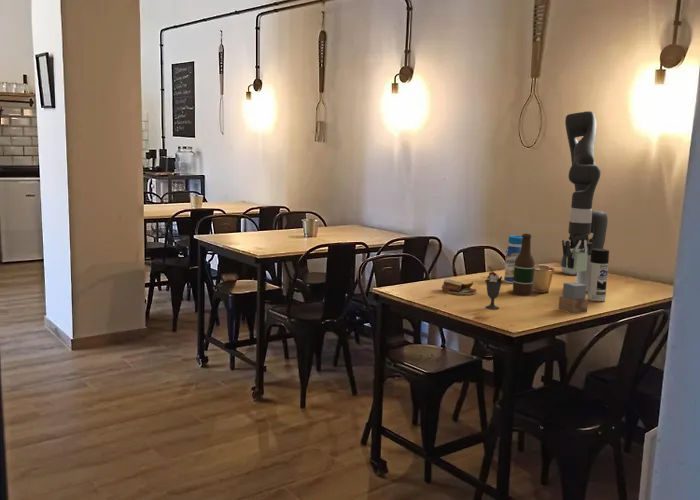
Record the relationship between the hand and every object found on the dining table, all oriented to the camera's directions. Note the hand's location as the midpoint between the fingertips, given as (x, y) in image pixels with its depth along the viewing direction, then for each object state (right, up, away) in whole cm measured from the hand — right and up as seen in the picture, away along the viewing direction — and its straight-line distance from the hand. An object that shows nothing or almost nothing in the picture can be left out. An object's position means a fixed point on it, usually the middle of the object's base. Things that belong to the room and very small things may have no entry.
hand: (576, 267), depth 244 cm
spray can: (+15, -13, +21) cm, 29 cm away
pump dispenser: (+22, -5, +73) cm, 76 cm away
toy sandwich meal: (-38, -11, +27) cm, 48 cm away
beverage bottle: (-11, -8, +50) cm, 52 cm away
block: (0, -1, 0) cm, 1 cm away
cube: (0, -11, +2) cm, 11 cm away
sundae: (-30, -15, +2) cm, 34 cm away
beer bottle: (-12, -11, +29) cm, 33 cm away
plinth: (-1, -16, +2) cm, 16 cm away
